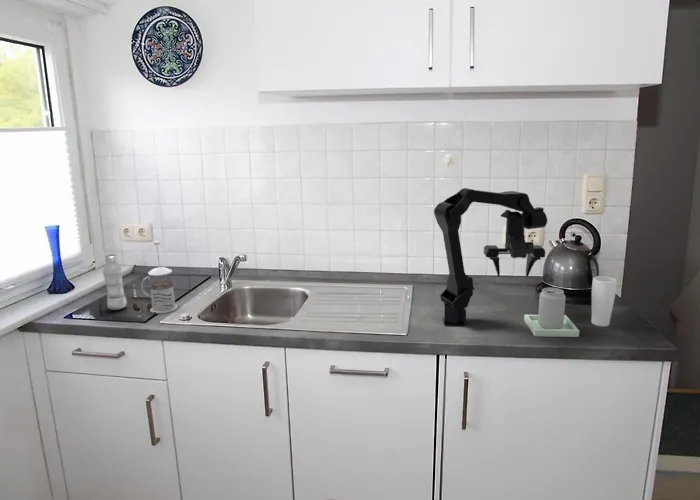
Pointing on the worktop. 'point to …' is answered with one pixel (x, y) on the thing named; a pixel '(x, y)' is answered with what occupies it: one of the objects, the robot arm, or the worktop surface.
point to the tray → (537, 330)
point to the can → (551, 308)
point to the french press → (161, 290)
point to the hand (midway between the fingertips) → (512, 276)
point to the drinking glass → (602, 300)
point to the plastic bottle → (114, 283)
